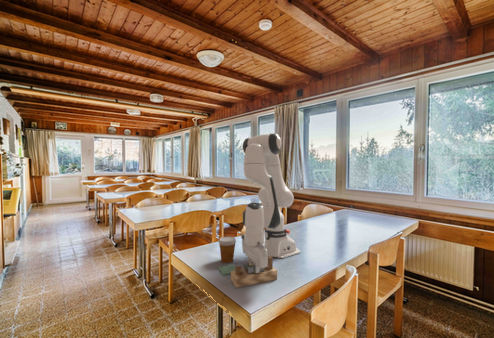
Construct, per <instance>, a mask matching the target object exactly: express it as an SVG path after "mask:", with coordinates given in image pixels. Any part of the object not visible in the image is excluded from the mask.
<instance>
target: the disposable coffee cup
mask: <svg viewBox="0 0 494 338" xmlns="http://www.w3.org/2000/svg"><path fill="white" fill-rule="evenodd" d="M236 243H237V240H236V237H233V236H222V237H219V240H218V244H219V250H220V258H221V259H220V261H221V263H223V264H232V263H233V262H234V256H235V248H236Z"/></svg>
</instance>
